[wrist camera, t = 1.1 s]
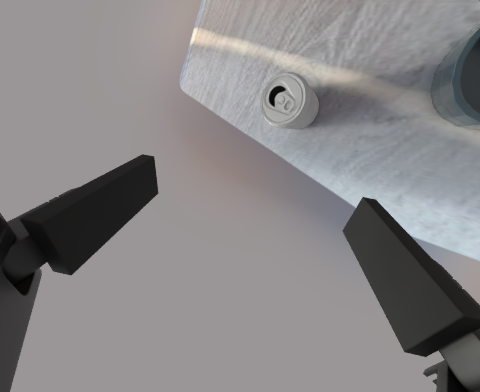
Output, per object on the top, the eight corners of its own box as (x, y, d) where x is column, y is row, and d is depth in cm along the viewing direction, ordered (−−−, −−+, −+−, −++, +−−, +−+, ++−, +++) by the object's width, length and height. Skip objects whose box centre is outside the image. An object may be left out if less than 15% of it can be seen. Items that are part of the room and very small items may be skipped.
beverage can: (299, 81, 31) (278, 56, 21) (328, 104, 30) (321, 90, 20) (275, 115, 34) (248, 107, 24) (300, 136, 33) (283, 138, 23)
